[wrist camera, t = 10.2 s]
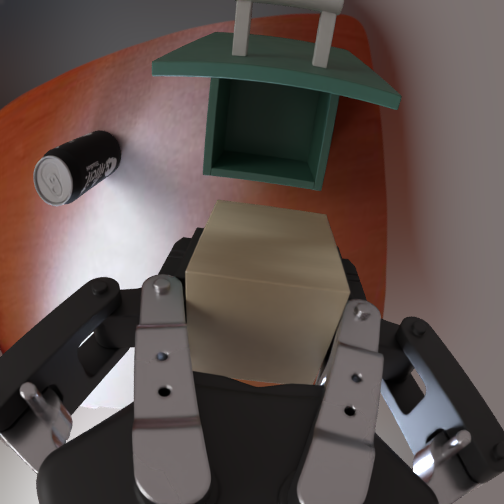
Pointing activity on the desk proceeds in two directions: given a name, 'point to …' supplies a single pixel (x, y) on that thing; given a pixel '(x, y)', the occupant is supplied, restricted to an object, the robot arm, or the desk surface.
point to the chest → (268, 132)
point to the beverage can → (76, 167)
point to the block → (264, 294)
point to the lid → (280, 58)
